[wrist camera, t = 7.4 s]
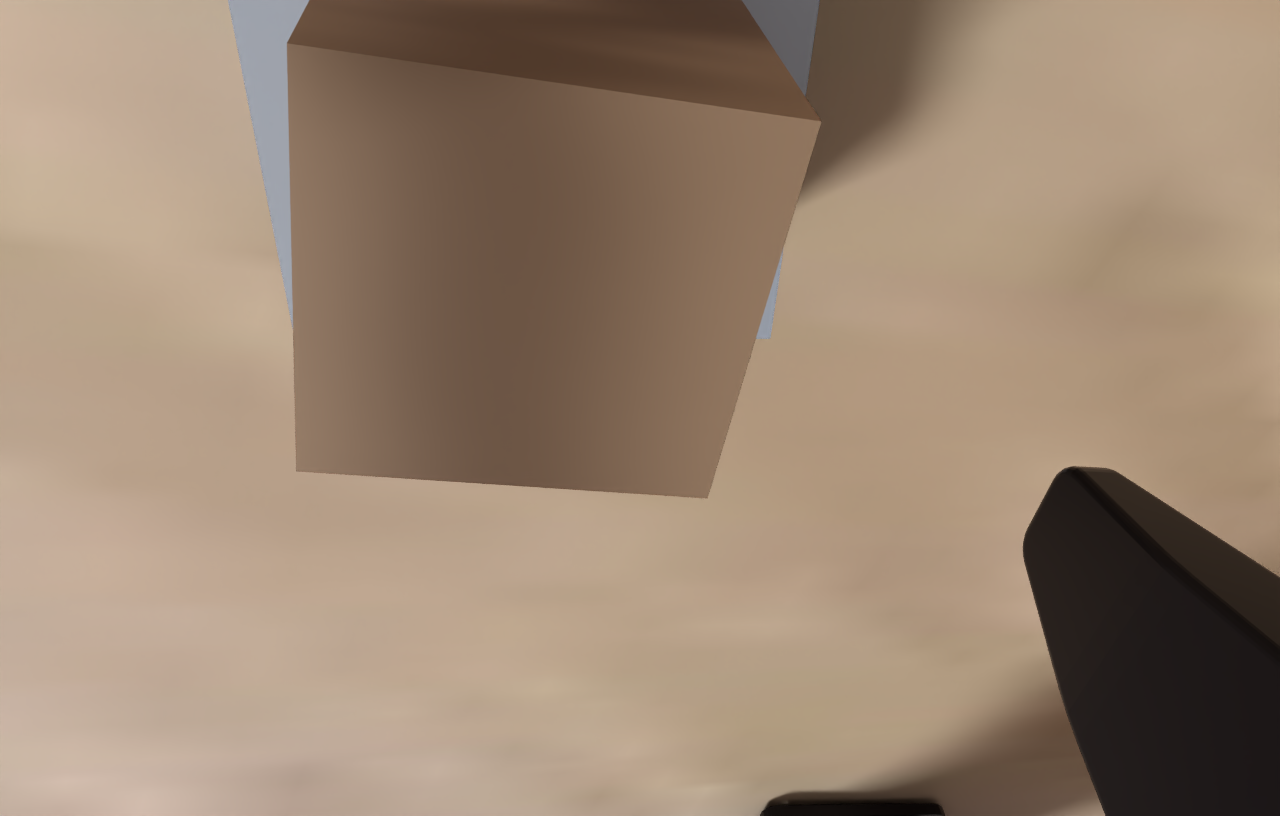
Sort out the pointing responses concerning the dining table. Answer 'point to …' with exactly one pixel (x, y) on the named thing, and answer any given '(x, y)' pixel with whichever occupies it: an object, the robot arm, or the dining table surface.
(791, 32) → the slate slab
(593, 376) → the walnut cube
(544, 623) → the dining table surface
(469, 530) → the dining table surface
